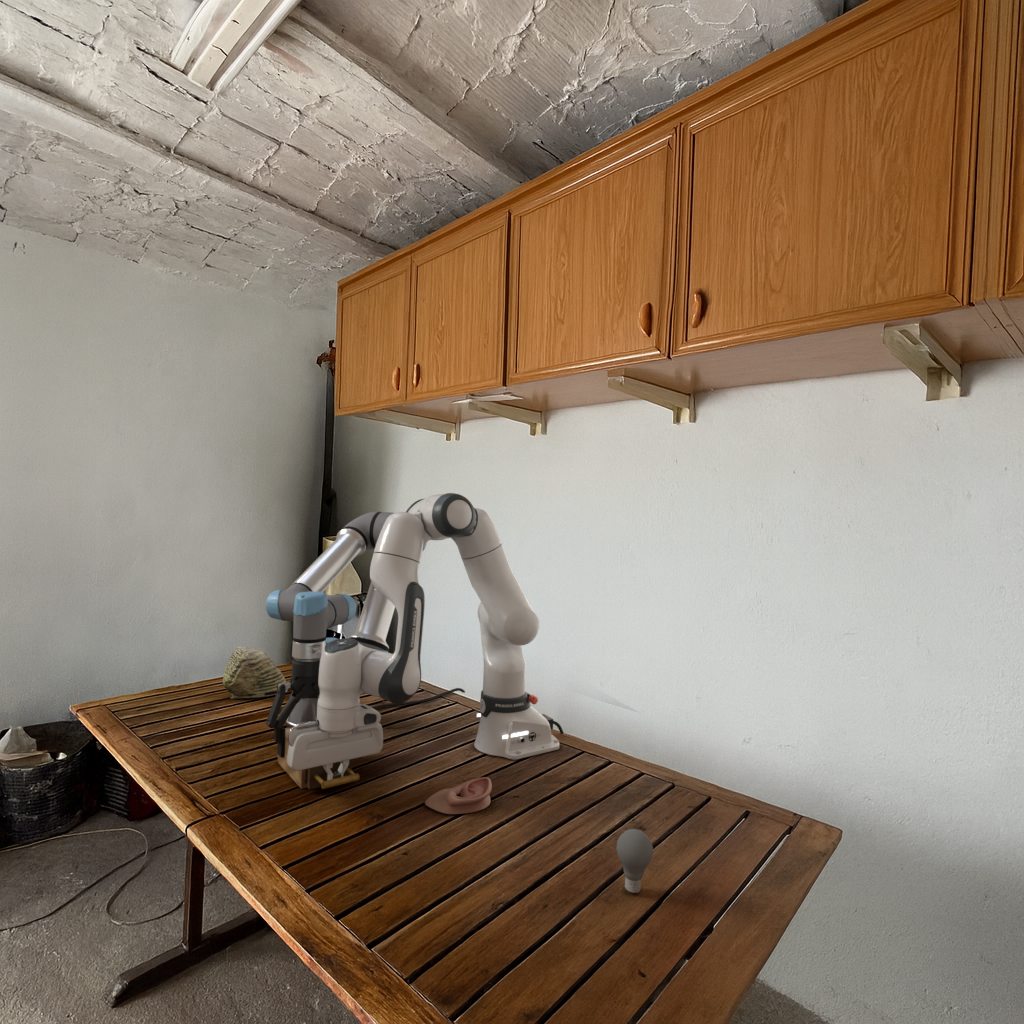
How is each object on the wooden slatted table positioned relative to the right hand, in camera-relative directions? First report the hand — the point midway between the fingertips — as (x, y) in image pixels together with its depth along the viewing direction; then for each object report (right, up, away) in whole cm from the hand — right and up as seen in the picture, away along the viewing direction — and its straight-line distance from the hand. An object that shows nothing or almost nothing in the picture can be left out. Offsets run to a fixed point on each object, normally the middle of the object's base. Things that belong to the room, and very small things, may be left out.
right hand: (335, 781), depth 135 cm
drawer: (-4, -2, +6) cm, 8 cm away
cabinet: (-9, -2, +11) cm, 14 cm away
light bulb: (+58, -6, -30) cm, 65 cm away
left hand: (-11, +1, +15) cm, 19 cm away
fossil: (-43, 0, +63) cm, 76 cm away
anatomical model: (+27, -4, -1) cm, 27 cm away
